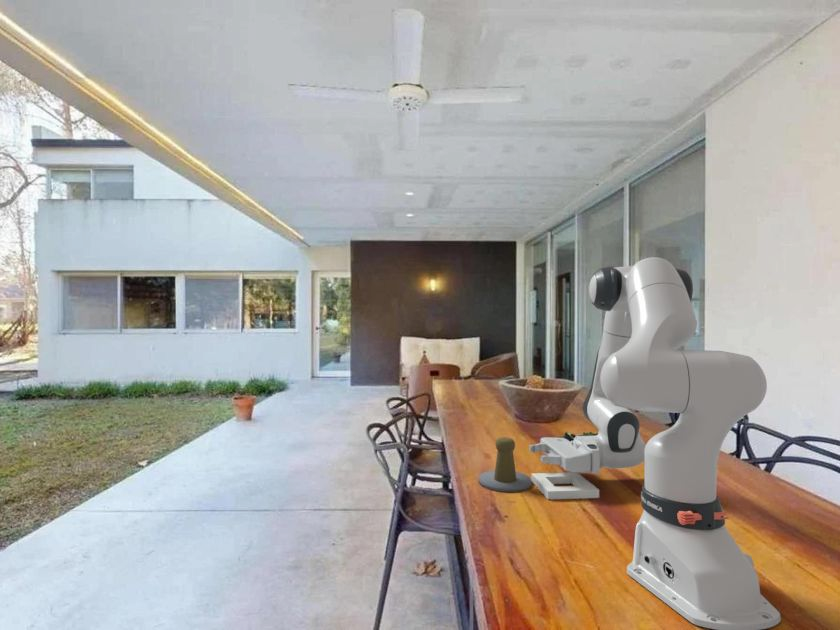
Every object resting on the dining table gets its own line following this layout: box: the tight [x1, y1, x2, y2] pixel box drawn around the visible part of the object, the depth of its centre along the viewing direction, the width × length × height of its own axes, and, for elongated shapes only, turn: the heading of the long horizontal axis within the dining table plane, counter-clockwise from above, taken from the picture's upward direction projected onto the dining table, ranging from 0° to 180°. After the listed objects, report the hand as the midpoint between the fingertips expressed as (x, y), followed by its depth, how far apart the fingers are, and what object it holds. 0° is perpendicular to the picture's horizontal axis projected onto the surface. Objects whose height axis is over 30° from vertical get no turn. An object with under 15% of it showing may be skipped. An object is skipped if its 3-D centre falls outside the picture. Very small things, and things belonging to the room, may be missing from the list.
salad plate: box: [555, 431, 599, 441], centre depth 164 cm, size 19×18×5 cm
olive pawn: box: [494, 436, 517, 483], centre depth 126 cm, size 6×6×11 cm
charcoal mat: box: [478, 469, 532, 493], centre depth 126 cm, size 14×14×1 cm
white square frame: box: [530, 471, 600, 500], centre depth 121 cm, size 13×13×2 cm
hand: (535, 453), depth 127 cm, fingers open, 8 cm apart
